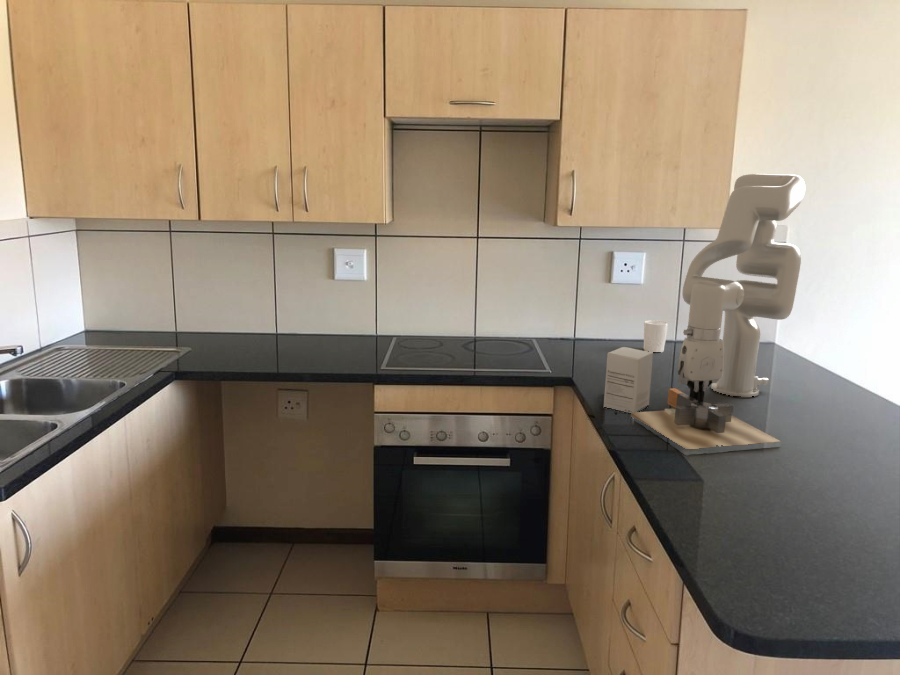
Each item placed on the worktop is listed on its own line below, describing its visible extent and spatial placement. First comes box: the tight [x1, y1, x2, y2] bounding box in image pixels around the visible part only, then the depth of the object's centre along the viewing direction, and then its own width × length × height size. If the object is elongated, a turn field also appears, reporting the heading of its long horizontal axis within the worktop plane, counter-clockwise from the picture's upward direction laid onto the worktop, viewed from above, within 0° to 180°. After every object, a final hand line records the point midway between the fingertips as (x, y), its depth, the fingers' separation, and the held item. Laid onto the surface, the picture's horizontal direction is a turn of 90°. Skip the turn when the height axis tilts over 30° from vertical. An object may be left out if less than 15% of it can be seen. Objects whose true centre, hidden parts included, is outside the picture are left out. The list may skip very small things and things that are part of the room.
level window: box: [664, 407, 676, 415], centre depth 173 cm, size 6×3×1 cm, turn 105°
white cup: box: [643, 319, 669, 353], centre depth 240 cm, size 8×8×10 cm
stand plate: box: [630, 409, 782, 449], centre depth 164 cm, size 24×24×2 cm
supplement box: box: [603, 346, 654, 413], centre depth 179 cm, size 9×9×15 cm
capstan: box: [666, 387, 734, 433], centre depth 166 cm, size 21×14×5 cm, turn 14°
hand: (695, 405), depth 172 cm, fingers closed
